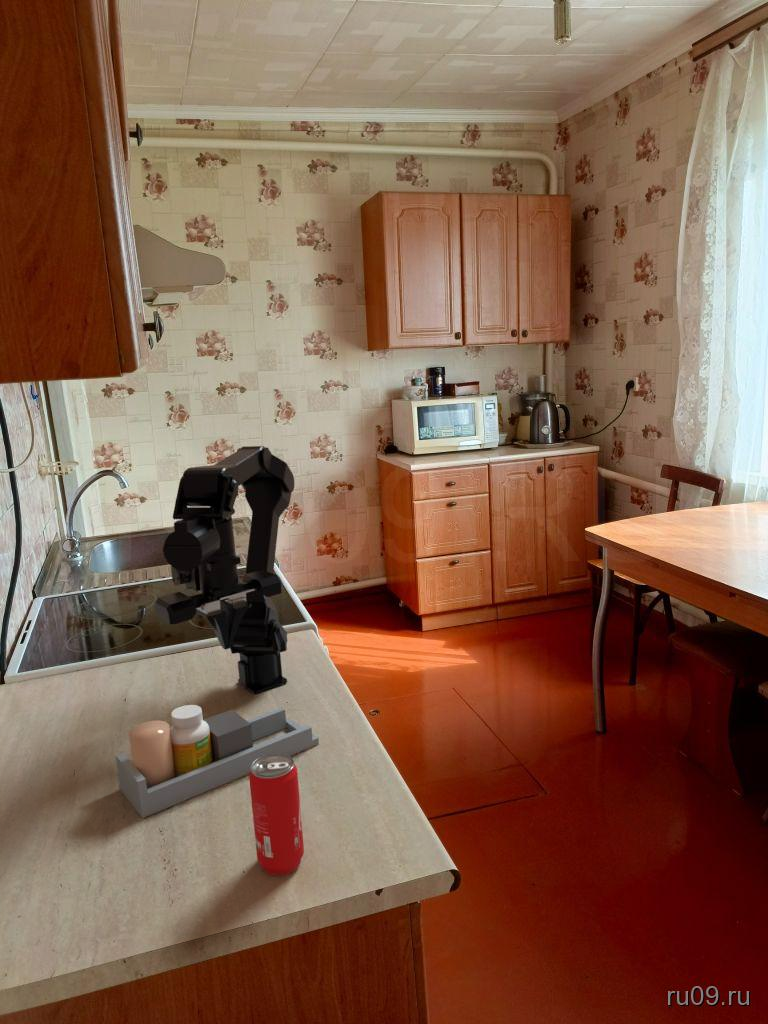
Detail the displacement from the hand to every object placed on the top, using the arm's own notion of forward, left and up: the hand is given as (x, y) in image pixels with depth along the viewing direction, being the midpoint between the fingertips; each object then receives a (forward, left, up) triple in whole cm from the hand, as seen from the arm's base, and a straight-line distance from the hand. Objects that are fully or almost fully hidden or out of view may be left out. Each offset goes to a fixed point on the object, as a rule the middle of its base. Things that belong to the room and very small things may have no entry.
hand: (226, 648), depth 114 cm
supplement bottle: (+12, +11, -12) cm, 20 cm away
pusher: (+6, +11, -12) cm, 18 cm away
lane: (+7, +11, -12) cm, 18 cm away
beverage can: (+11, +34, -12) cm, 38 cm away
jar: (+17, +11, -12) cm, 23 cm away
